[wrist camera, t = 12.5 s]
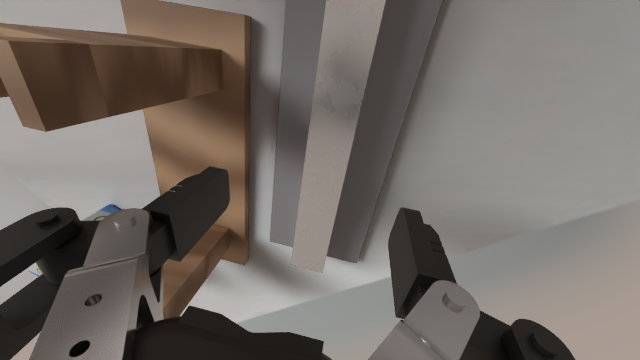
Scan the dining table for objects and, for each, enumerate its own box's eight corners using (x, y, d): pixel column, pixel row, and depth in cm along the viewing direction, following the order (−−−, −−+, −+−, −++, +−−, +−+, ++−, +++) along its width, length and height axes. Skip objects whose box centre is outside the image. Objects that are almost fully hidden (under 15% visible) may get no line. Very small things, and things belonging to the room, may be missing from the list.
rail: (342, -46, 15) (335, -70, 12) (394, -39, 14) (400, -62, 12) (299, 242, 26) (290, 264, 23) (327, 249, 26) (322, 272, 23)
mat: (295, -69, 15) (291, -77, 14) (454, -48, 14) (460, -55, 14) (272, 235, 28) (269, 241, 27) (357, 256, 27) (356, 263, 26)
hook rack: (130, -4, 19) (-267, -102, 7) (250, 16, 18) (24, -57, 6) (176, 240, 31) (60, 351, 20) (248, 259, 30) (172, 387, 19)
